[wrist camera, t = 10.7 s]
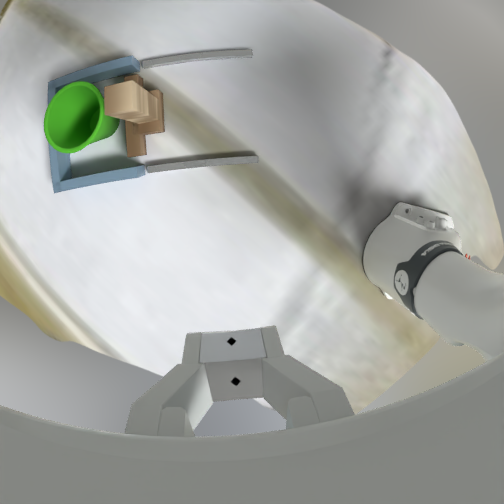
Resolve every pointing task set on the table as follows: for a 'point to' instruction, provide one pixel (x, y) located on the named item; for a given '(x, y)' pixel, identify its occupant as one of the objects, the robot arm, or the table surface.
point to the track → (190, 58)
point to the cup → (77, 118)
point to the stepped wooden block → (135, 111)
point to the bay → (62, 160)
